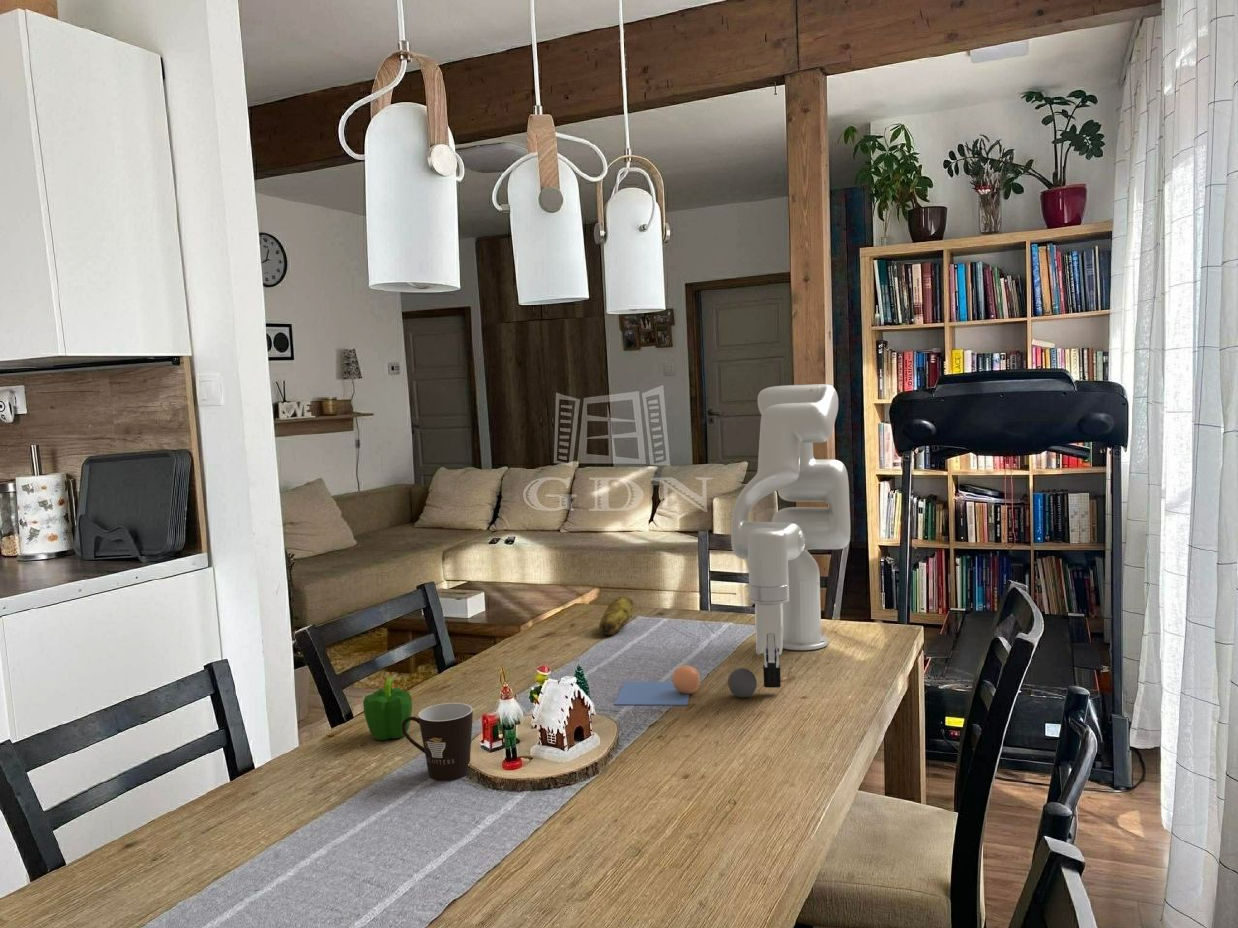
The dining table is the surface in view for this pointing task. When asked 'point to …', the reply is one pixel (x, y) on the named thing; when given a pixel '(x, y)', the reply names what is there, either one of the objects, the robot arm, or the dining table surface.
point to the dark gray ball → (742, 682)
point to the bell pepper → (387, 711)
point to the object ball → (686, 679)
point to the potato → (616, 615)
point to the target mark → (650, 694)
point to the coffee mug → (445, 739)
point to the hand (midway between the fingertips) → (772, 685)
